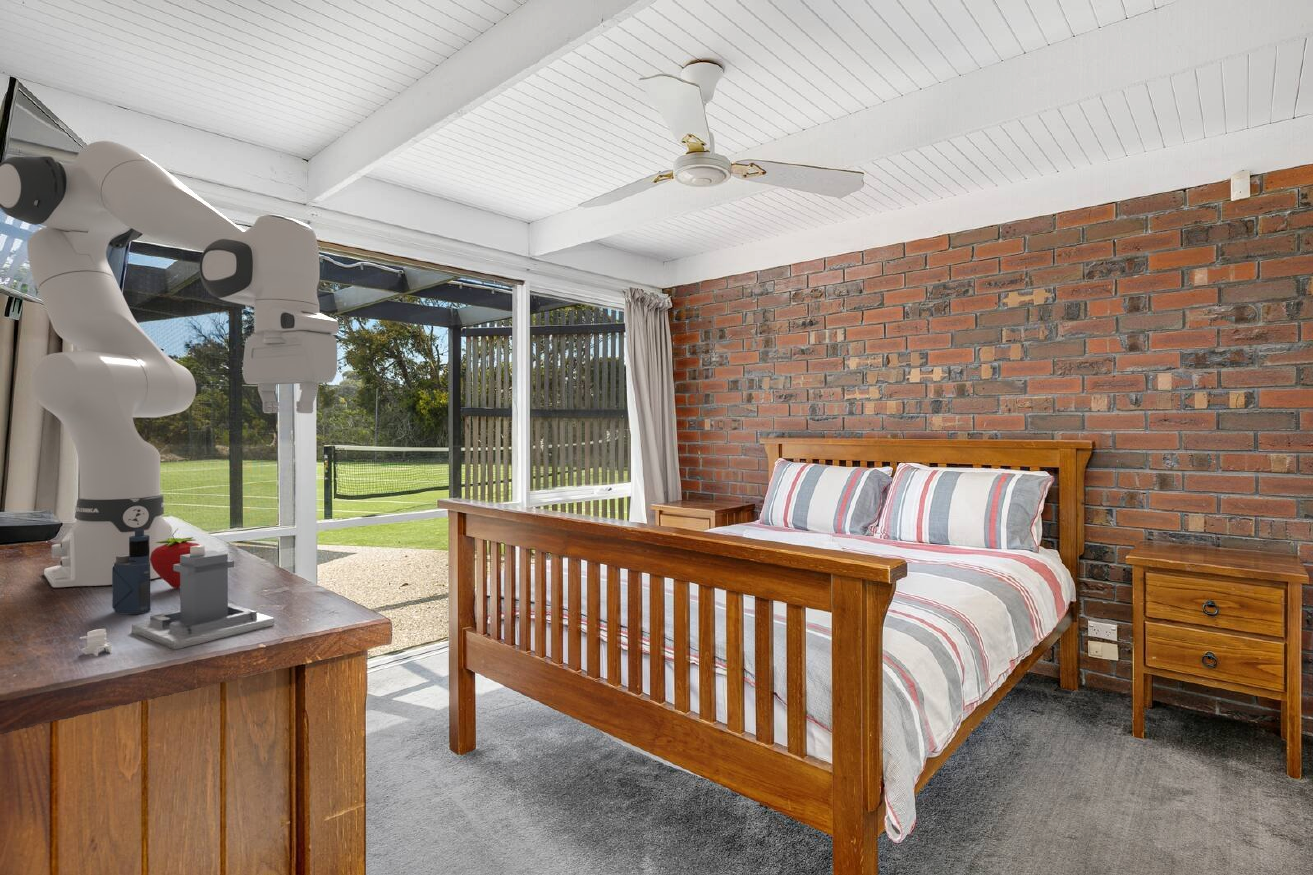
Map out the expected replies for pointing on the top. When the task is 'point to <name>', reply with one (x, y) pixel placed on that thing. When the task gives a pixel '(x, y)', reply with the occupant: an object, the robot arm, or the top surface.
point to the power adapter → (96, 642)
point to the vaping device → (132, 577)
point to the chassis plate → (200, 627)
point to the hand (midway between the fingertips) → (287, 413)
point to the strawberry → (170, 558)
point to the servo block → (203, 585)
